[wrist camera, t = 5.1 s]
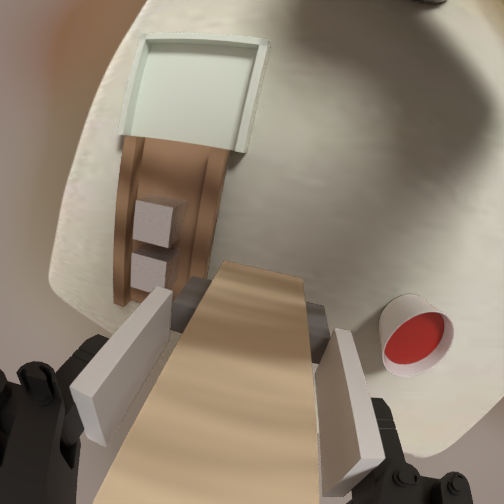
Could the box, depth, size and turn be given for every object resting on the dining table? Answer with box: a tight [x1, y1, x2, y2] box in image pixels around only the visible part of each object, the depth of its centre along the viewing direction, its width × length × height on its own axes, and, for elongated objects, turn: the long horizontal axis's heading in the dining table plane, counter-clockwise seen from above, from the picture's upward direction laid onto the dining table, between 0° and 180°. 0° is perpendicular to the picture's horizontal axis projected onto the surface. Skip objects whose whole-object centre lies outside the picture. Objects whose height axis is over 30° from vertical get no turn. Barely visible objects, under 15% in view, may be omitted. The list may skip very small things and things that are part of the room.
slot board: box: [113, 136, 230, 312], centre depth 31 cm, size 20×11×3 cm, turn 168°
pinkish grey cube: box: [131, 242, 180, 293], centre depth 31 cm, size 4×4×4 cm
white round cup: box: [379, 294, 454, 377], centre depth 29 cm, size 9×9×6 cm
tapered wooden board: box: [93, 260, 330, 504], centre depth 9 cm, size 4×7×14 cm, turn 79°
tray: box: [117, 32, 271, 153], centre depth 26 cm, size 12×14×2 cm
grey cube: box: [133, 194, 187, 248], centre depth 29 cm, size 4×4×4 cm
